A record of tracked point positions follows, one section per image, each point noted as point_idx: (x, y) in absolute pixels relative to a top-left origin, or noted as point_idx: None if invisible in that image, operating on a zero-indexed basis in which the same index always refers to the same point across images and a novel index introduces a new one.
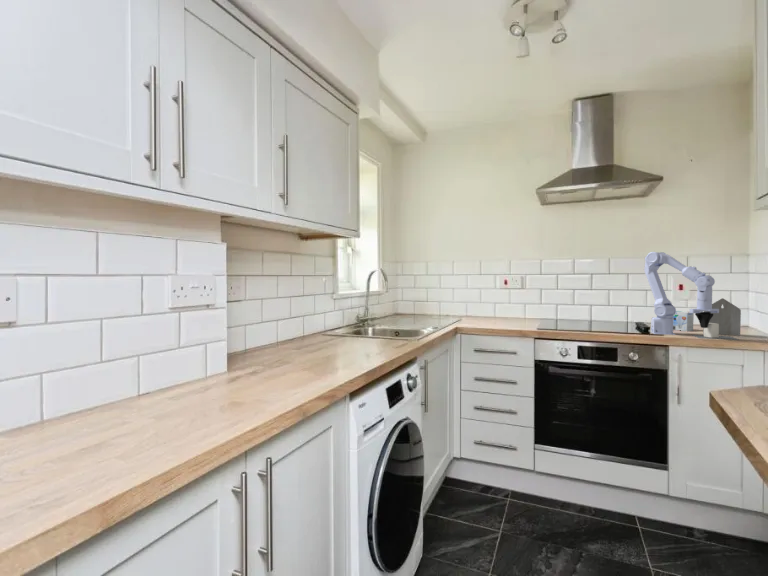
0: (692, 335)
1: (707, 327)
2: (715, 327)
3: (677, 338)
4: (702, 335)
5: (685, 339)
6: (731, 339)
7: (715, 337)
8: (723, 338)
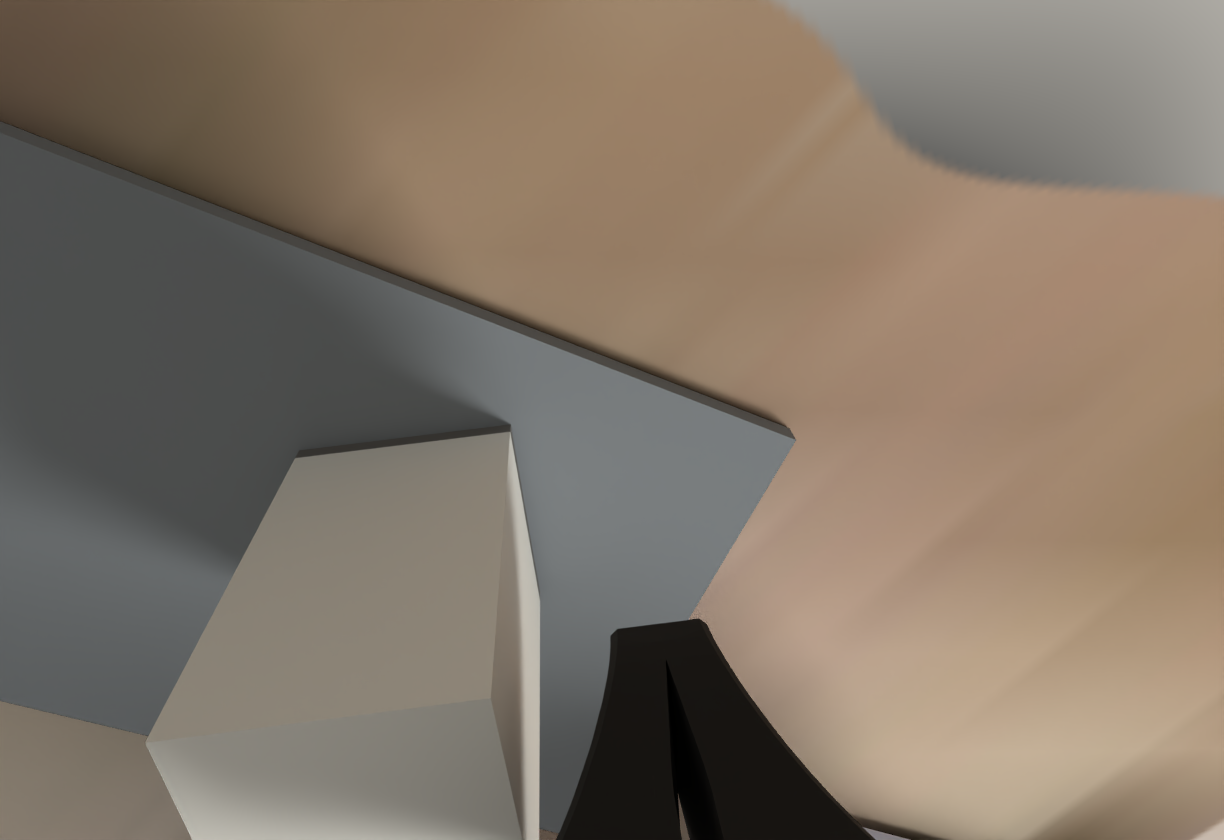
0: None
1: (521, 703)
2: (338, 620)
3: (1163, 530)
4: None
5: (1142, 402)
6: (116, 205)
7: (386, 449)
8: (220, 381)
